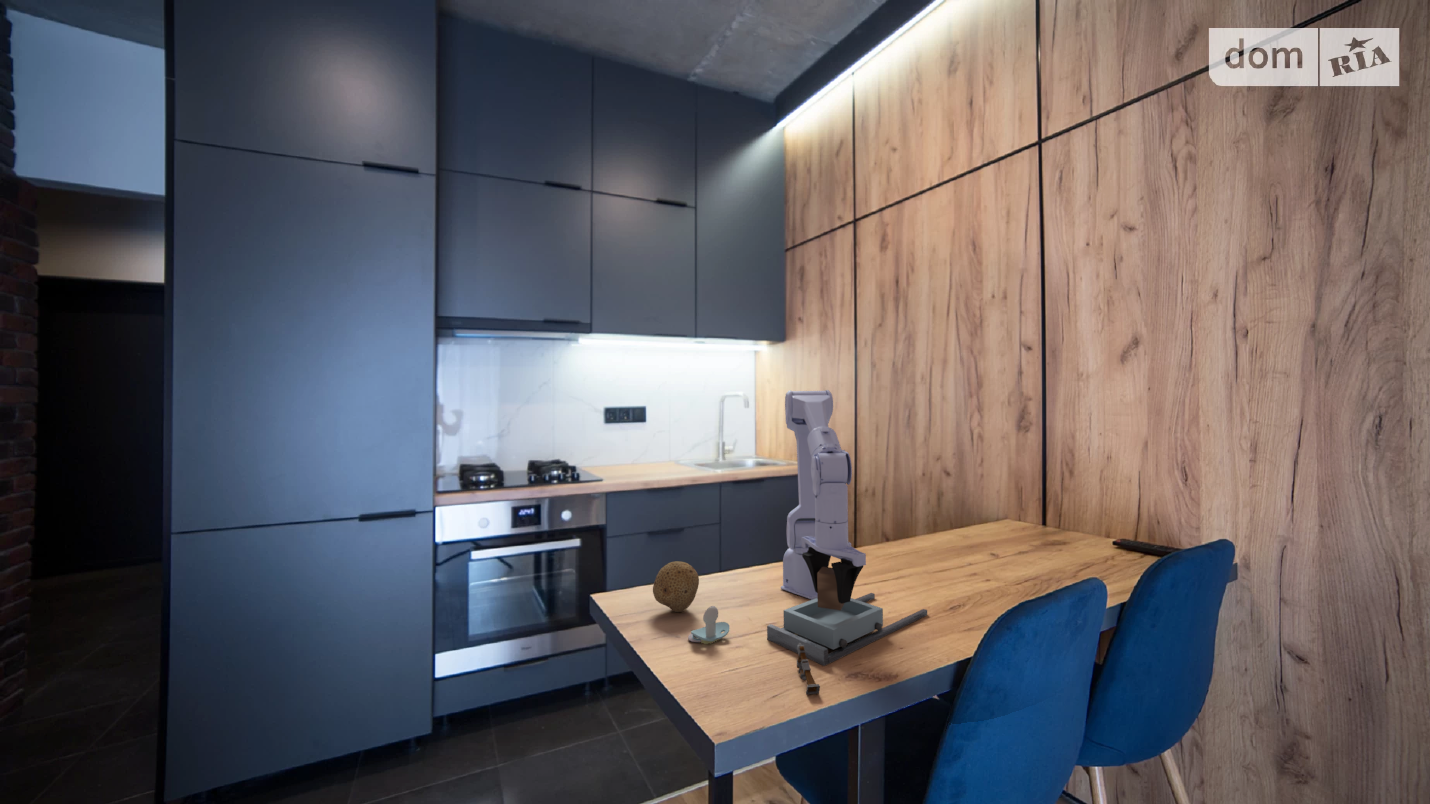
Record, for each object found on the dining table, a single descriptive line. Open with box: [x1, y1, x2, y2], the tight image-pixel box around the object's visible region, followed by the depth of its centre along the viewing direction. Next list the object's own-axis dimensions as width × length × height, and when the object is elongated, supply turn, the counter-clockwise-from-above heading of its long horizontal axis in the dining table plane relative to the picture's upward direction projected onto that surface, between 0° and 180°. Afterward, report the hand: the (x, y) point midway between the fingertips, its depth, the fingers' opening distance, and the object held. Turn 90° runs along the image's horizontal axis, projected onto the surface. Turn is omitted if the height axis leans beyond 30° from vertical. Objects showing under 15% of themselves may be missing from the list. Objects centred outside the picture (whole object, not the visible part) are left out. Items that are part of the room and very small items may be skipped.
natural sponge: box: [652, 560, 700, 613], centre depth 107 cm, size 9×9×10 cm
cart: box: [783, 597, 884, 651], centre depth 96 cm, size 12×14×3 cm
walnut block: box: [817, 566, 844, 610], centre depth 96 cm, size 4×4×6 cm
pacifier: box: [687, 605, 730, 645], centre depth 95 cm, size 7×6×6 cm
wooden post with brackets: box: [796, 643, 821, 695], centre depth 80 cm, size 2×8×4 cm, turn 7°
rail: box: [766, 592, 928, 667], centre depth 99 cm, size 13×31×2 cm, turn 129°
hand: (832, 596), depth 96 cm, fingers closed on walnut block, 6 cm apart
